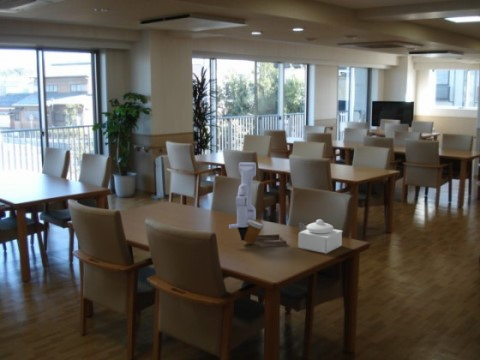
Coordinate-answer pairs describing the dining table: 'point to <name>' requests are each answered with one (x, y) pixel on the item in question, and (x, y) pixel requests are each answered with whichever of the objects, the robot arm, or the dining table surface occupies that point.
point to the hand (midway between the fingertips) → (242, 240)
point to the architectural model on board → (302, 227)
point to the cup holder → (274, 243)
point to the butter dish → (320, 237)
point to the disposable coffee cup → (252, 231)
